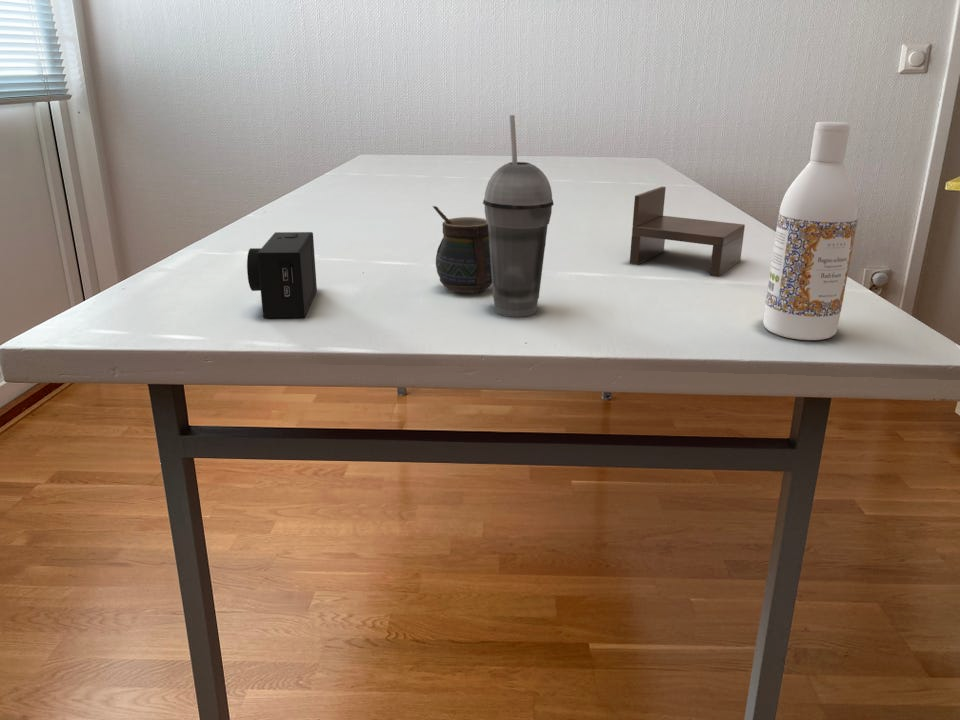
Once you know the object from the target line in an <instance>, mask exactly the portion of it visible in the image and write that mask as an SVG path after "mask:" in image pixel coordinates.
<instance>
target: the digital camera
mask: <svg viewBox="0 0 960 720" xmlns="http://www.w3.org/2000/svg"><path fill="white" fill-rule="evenodd" d="M315 257H316V256H315V242H314V232H312V231H293V232H292V231H287V232H286V231H283V232H282V231H281V232H280V231H279V232H277V231H276V232H274V233H273V234H272V235H271V236H270V237H269V239H268V240H267V241H266V242H265V243H264V244H263V245H262V247H259V248H256V247H254V248H253V247H251V248H249V249H248V252H247V259H246V273H247V282H248V285H249V289H250V290H251V291H252V292H260V298H261V309H262V317H263V319H295V318H296V319H297V318H298V319H300V318H301V319H303V318H304V319H305V318H306V316H307V314H308V311H309V309H310V306H311V305H312V303H313V301H314V298H315V296H316V294H317V291H318V285H317V270H316V269H317V268H316V258H315Z"/></svg>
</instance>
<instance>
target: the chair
mask: <svg viewBox="0 0 960 720" xmlns="http://www.w3.org/2000/svg"><path fill="white" fill-rule="evenodd" d="M666 189H667V187H666V186H660V187H656V188H654V189H651V190H647V191H645V192H642V193H639V194H636V195H634V202H633V213H632V214H633V216H632V227H631V229H632V230H631V238H630V239H631V240H630V250H629V251H630V253H629V264H630V265H640V264H641V263H644V262H645V261H648V260H649V259H651V258H652V257H655V256H657V255H658V254H661V253H662V252H664V251H665V243H666V240H667V241H674V242H682V243H692V244H697V245H698V244H699V245H707V246H712V251H711V260H710V268H709V276H713V277H714V276H715V277H720V276H722V275H723V274H724V273H726V272H727V271H728V270H730V269H731V268H733V267H734V266H735V265H736V264H738V263H740V262H741V259H742V258H741V257H742V250H743V245H744V244H743V243H744V235H745V227H746V224H743V223H737V222H736V223H734V222H726V221H718V220H717V221H716V220H708V219H699V218H698V219H697V218H689V217H679V216H670V215H664V211H665V210H664V208H665V200H666V199H665V198H666Z"/></svg>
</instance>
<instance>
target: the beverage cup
mask: <svg viewBox="0 0 960 720" xmlns="http://www.w3.org/2000/svg"><path fill="white" fill-rule="evenodd" d="M509 129H510V131H509V132H510V146H511V147H510V148H511V149H510V150H511V162H507V163H505V164H503V165H502V166H500V167H499V168H497V169H496V170H495V171H494V172H493V173H492V175H491V176H490V178H489V179H488V181H487V185H486V187H485V191H484V198H483V201H482V205H484V215H485V219H486V222H487V223H488V233H489V247H490V261H491V275H492V284H491V286H492V287H491V288H492V298H493V305H494V312H495V313H496V314H498V315H500V316H503V317H511V318H522V317H530V316H533V315H535V314H536V313H537V306H538V303H539V298H540V291H541V283H542V274H543V267H544V258H545V249H546V243H547V242H546V241H547V234H548V226H549V225H550V220H551V217H552V211H553V210H552V209H553V206H554V204H555V203H554V200H553V192H552V186H551V184H550V182H549V179H548V177H547V176H546V175H545V173H544V172H543V170H541V169H540V168H539V167H537V166H536V165H535V164H532V163H530V162H525V161H518V150H517V133H516V116H515V114H513V115H512V114H511V115H509Z"/></svg>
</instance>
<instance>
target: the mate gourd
mask: <svg viewBox="0 0 960 720" xmlns="http://www.w3.org/2000/svg"><path fill="white" fill-rule="evenodd" d="M432 208H433V209H434V210H435V212H436V213H437V214H438V216H440V217H441V219H442V220H443V222H442V224H441V225H442V234H443V235H442V239H441V241H440V243H439V246H438V247H437V251H436V256H435V268H436V273H437V275H438V277H439V282H440V283H441V284H442V286H444V287H445V288H446V289H447V290H448V291H449V292H452V293H457V294H481V293H484V292H485V291H487V289H488V288H490V287H491V286H492V275H491V261H490V247H489V233H488V223H487V222H486V218H481V217H476V216H475V217H473V216H462V217H453V218H448V217H447V216H446V215H445V214H444V212H442V211H441V210H440V208H439V207H438V206H436V205H432Z"/></svg>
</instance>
